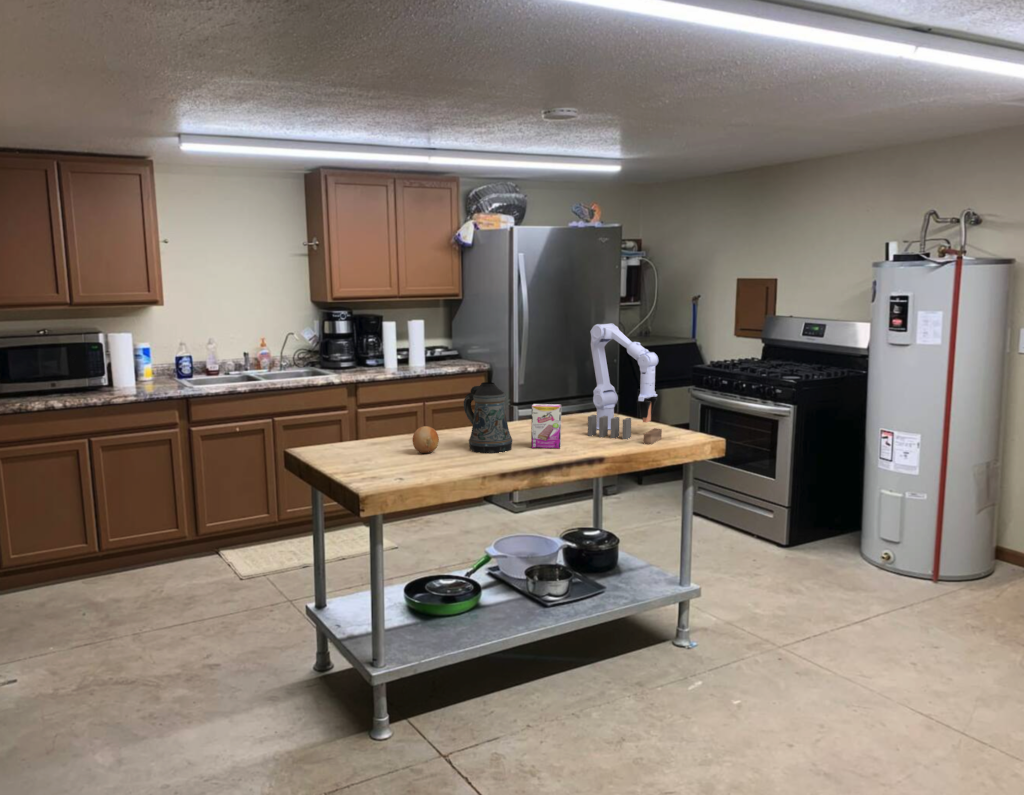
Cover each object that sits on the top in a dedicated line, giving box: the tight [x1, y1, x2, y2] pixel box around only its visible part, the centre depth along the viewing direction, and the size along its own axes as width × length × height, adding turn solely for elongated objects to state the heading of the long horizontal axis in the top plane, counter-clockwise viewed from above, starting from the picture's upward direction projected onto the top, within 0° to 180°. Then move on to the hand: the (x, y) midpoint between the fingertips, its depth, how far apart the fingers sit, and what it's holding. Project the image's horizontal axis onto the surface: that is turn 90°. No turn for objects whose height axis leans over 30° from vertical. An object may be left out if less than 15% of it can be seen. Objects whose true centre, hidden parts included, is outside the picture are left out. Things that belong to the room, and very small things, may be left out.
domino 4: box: [621, 417, 632, 440], centre depth 318 cm, size 2×5×8 cm, turn 150°
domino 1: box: [587, 414, 597, 437], centre depth 326 cm, size 2×5×8 cm, turn 150°
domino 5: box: [642, 404, 652, 424], centre depth 323 cm, size 2×5×8 cm, turn 150°
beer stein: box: [463, 381, 513, 454], centre depth 301 cm, size 16×19×25 cm
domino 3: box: [610, 416, 620, 439], centre depth 321 cm, size 2×5×8 cm, turn 150°
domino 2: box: [598, 416, 609, 438], centre depth 323 cm, size 2×5×8 cm, turn 150°
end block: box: [643, 427, 663, 445], centre depth 313 cm, size 3×12×4 cm, turn 150°
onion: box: [412, 425, 440, 454], centre depth 296 cm, size 10×10×10 cm
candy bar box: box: [530, 403, 562, 450], centre depth 303 cm, size 11×5×16 cm, turn 84°
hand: (646, 416), depth 323 cm, fingers closed on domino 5, 5 cm apart
